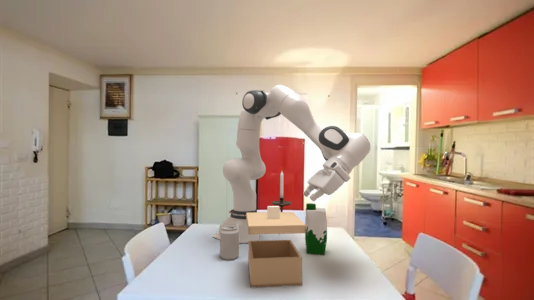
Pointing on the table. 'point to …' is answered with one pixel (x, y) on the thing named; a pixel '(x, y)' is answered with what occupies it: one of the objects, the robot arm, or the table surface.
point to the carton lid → (274, 222)
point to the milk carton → (315, 229)
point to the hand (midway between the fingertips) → (307, 197)
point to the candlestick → (281, 195)
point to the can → (229, 242)
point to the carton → (274, 263)
